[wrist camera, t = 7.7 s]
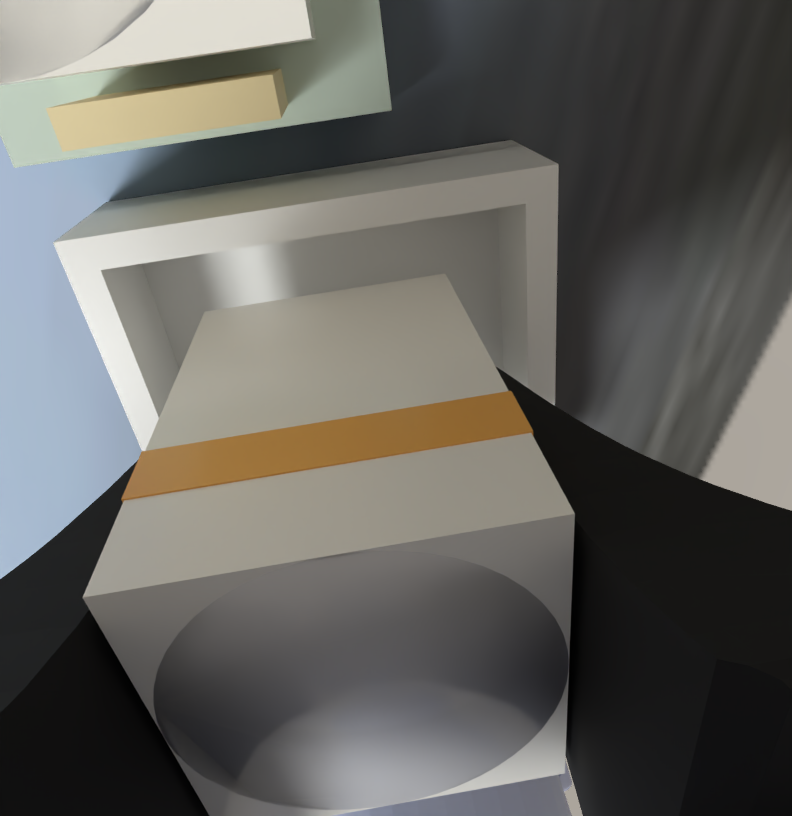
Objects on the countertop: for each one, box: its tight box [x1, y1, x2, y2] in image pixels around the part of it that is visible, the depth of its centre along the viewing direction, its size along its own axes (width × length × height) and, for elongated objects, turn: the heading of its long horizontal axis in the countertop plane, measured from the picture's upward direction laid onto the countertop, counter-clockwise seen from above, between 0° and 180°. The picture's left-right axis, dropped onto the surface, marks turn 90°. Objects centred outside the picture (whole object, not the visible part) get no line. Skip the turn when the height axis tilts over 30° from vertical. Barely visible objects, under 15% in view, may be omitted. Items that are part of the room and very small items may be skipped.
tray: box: [53, 140, 559, 451], centre depth 12 cm, size 8×8×3 cm
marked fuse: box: [83, 274, 575, 816], centre depth 8 cm, size 4×4×6 cm
